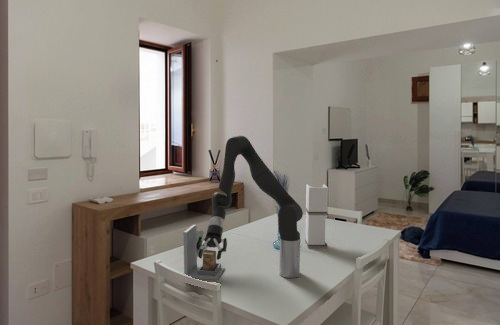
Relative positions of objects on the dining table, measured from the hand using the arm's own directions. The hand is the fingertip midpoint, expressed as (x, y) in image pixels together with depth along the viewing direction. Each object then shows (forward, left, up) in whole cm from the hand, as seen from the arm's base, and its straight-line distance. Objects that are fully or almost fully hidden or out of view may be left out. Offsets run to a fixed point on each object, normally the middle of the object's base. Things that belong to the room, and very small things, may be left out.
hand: (209, 258), depth 164 cm
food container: (+19, -33, -8) cm, 39 cm away
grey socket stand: (+2, -1, -7) cm, 8 cm away
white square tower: (-49, -52, -8) cm, 72 cm away
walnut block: (0, -1, -6) cm, 6 cm away
